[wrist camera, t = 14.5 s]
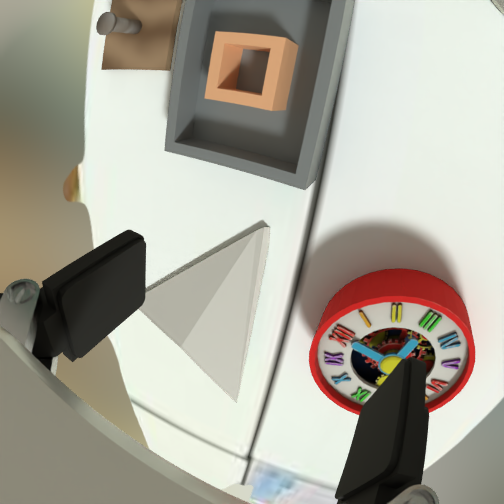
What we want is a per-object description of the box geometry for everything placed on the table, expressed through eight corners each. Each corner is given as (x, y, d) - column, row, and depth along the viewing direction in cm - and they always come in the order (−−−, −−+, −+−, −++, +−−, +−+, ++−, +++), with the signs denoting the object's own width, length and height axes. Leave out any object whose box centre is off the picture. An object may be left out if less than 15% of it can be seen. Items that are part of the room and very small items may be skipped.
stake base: (118, -6, 30) (83, -11, 25) (185, -17, 27) (150, -30, 22) (106, 69, 36) (70, 71, 31) (170, 70, 33) (132, 69, 28)
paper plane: (353, 290, 36) (347, 310, 33) (245, 389, 52) (235, 405, 49) (186, 164, 39) (166, 171, 35) (134, 298, 55) (119, 310, 51)
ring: (234, 37, 28) (215, 31, 24) (298, 45, 26) (286, 37, 23) (224, 98, 31) (204, 98, 28) (285, 110, 29) (271, 110, 26)
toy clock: (404, 435, 35) (283, 378, 39) (407, 405, 40) (297, 349, 44) (508, 346, 24) (363, 260, 28) (498, 315, 29) (368, 236, 33)
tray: (212, -12, 26) (190, -22, 23) (354, 0, 22) (348, -16, 18) (187, 144, 37) (164, 150, 33) (315, 179, 32) (304, 190, 29)
